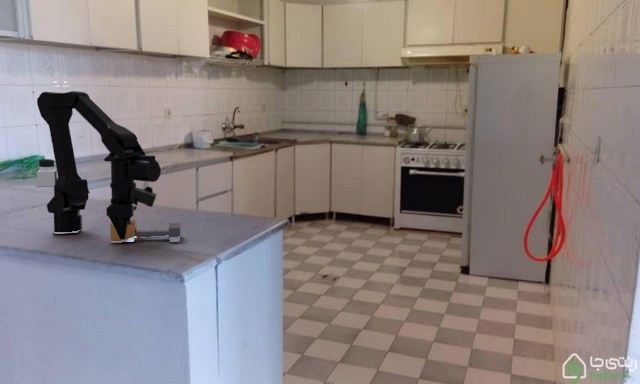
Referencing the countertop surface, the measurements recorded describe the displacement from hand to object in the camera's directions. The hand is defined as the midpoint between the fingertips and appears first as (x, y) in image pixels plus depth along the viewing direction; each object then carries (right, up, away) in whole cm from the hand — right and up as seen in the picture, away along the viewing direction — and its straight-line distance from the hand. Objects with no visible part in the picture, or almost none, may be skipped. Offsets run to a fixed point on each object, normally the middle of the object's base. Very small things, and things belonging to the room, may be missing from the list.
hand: (123, 236), depth 138 cm
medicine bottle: (-71, +15, +94) cm, 119 cm away
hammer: (+8, -1, +3) cm, 9 cm away
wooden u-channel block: (0, -1, 0) cm, 1 cm away
